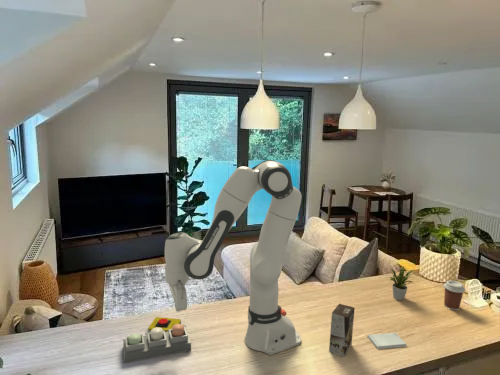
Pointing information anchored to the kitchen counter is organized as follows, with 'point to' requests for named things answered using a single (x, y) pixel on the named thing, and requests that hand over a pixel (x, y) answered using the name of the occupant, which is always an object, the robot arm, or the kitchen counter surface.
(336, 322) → the coffee box
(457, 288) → the coffee cup
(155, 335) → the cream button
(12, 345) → the kitchen counter surface
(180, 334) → the brown egg
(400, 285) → the house plant
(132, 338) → the pale green egg
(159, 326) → the emergency button
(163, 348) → the panel
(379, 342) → the hard drive
